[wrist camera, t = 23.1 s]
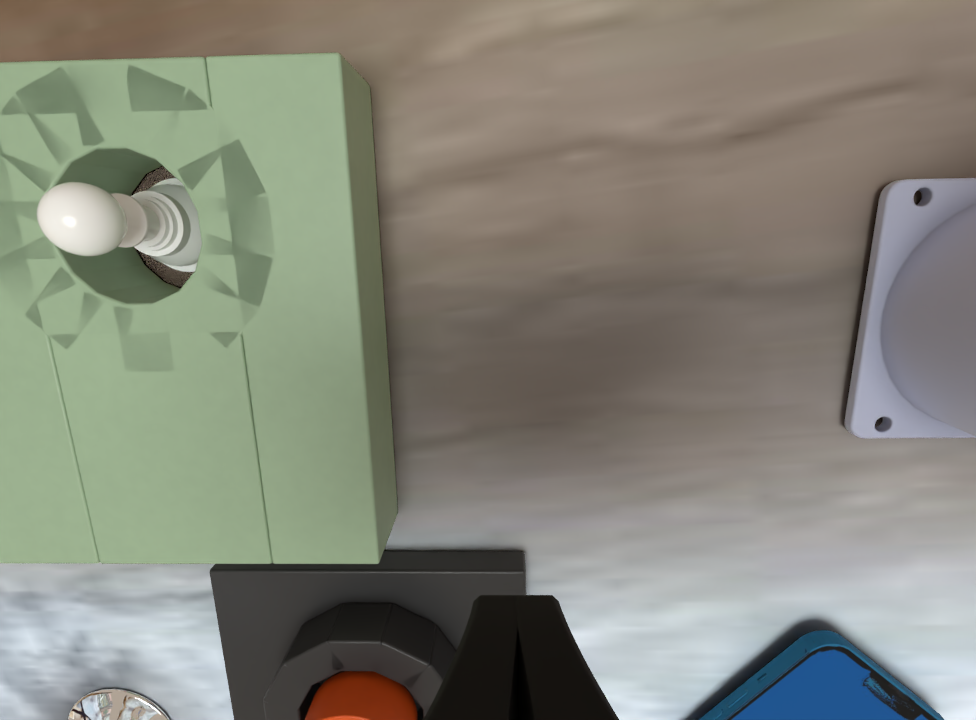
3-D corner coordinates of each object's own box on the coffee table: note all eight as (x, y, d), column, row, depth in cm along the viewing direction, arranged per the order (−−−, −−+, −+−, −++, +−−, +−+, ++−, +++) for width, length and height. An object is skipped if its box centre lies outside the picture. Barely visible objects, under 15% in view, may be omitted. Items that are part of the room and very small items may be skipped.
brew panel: (524, 550, 19) (528, 608, 16) (524, 747, 21) (528, 829, 18) (225, 549, 19) (176, 606, 17) (255, 743, 22) (217, 823, 19)
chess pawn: (173, 285, 17) (42, 307, 12) (126, 201, 16) (-31, 189, 12) (249, 250, 17) (145, 259, 12) (204, 163, 16) (75, 135, 11)
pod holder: (370, 84, 15) (339, 51, 13) (398, 513, 19) (379, 565, 16) (-26, 95, 16) (-144, 65, 13) (72, 513, 19) (-6, 564, 16)
